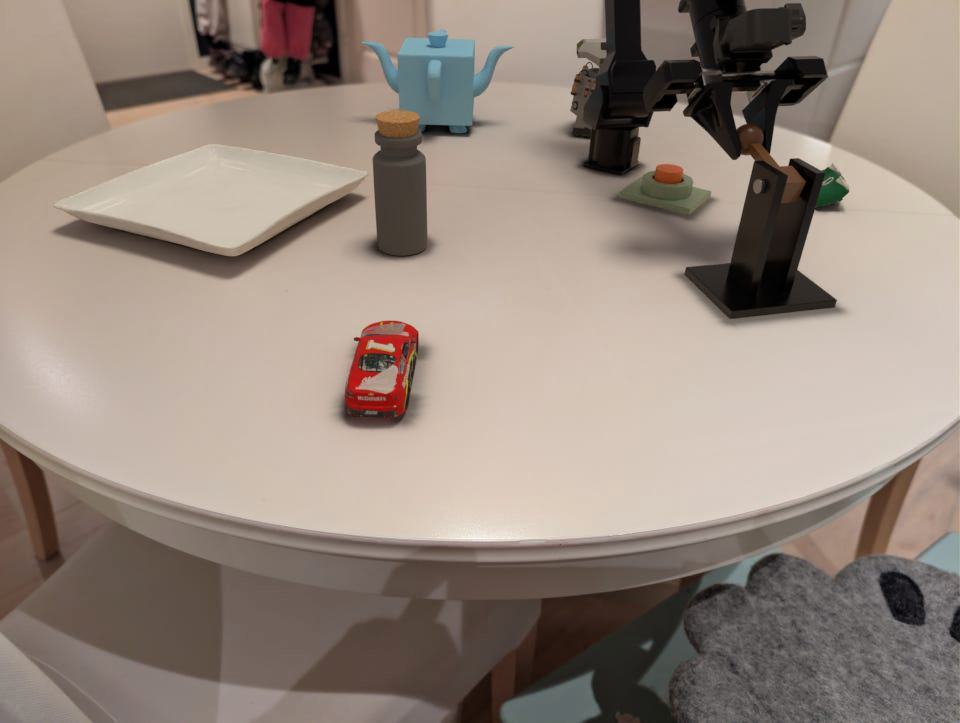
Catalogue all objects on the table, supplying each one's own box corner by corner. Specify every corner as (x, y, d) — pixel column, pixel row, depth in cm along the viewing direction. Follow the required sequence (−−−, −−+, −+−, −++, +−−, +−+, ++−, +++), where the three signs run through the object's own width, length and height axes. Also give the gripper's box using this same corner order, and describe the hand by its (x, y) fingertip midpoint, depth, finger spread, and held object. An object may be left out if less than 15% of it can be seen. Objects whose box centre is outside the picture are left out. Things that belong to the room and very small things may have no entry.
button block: (618, 199, 101) (621, 178, 99) (642, 183, 106) (645, 162, 104) (688, 217, 96) (692, 195, 94) (710, 199, 102) (714, 178, 100)
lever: (722, 145, 79) (732, 118, 77) (748, 143, 80) (759, 117, 78) (770, 207, 72) (783, 180, 70) (799, 205, 73) (812, 178, 71)
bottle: (435, 239, 88) (433, 111, 80) (415, 259, 84) (411, 126, 75) (390, 232, 90) (384, 105, 82) (368, 251, 85) (360, 119, 77)
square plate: (374, 196, 100) (372, 168, 97) (237, 280, 79) (232, 246, 77) (215, 164, 109) (210, 137, 106) (56, 231, 88) (46, 200, 86)
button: (649, 181, 99) (651, 169, 98) (660, 174, 102) (662, 162, 101) (675, 187, 98) (677, 174, 97) (685, 180, 100) (687, 167, 99)
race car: (366, 337, 70) (364, 300, 68) (423, 340, 70) (423, 303, 68) (336, 423, 59) (332, 382, 57) (404, 427, 59) (402, 386, 57)
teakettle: (434, 147, 118) (433, 48, 109) (362, 121, 128) (356, 29, 120) (515, 125, 129) (520, 34, 121) (442, 103, 140) (442, 18, 132)
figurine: (631, 143, 122) (645, 46, 113) (563, 135, 124) (571, 39, 116) (638, 128, 129) (651, 35, 121) (573, 121, 132) (582, 30, 123)
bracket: (683, 276, 82) (707, 153, 74) (779, 267, 84) (812, 147, 77) (729, 321, 74) (761, 189, 66) (834, 310, 76) (877, 180, 69)
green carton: (813, 224, 100) (856, 197, 97) (798, 203, 99) (841, 175, 96) (802, 199, 107) (842, 174, 104) (788, 179, 106) (828, 153, 103)
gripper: (673, -29, 70) (707, 121, 68) (844, -30, 74) (882, 113, 71) (629, 43, 81) (656, 175, 78) (780, 39, 85) (811, 165, 82)
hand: (751, 157), depth 77 cm, fingers closed on lever, 3 cm apart
